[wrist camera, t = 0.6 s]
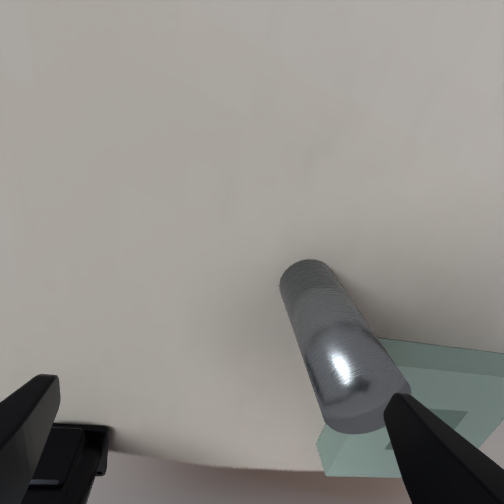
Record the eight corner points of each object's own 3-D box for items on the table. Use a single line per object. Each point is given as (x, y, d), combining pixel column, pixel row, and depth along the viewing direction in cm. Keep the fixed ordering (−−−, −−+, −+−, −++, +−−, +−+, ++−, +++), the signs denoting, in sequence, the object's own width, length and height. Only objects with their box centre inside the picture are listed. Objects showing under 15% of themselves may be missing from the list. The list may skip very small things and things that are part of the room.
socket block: (433, 448, 34) (452, 478, 31) (316, 443, 31) (325, 475, 28) (506, 353, 28) (536, 380, 26) (370, 337, 25) (388, 364, 23)
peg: (322, 309, 24) (388, 436, 15) (273, 302, 23) (310, 432, 14) (341, 264, 22) (427, 376, 13) (288, 255, 21) (342, 367, 12)
